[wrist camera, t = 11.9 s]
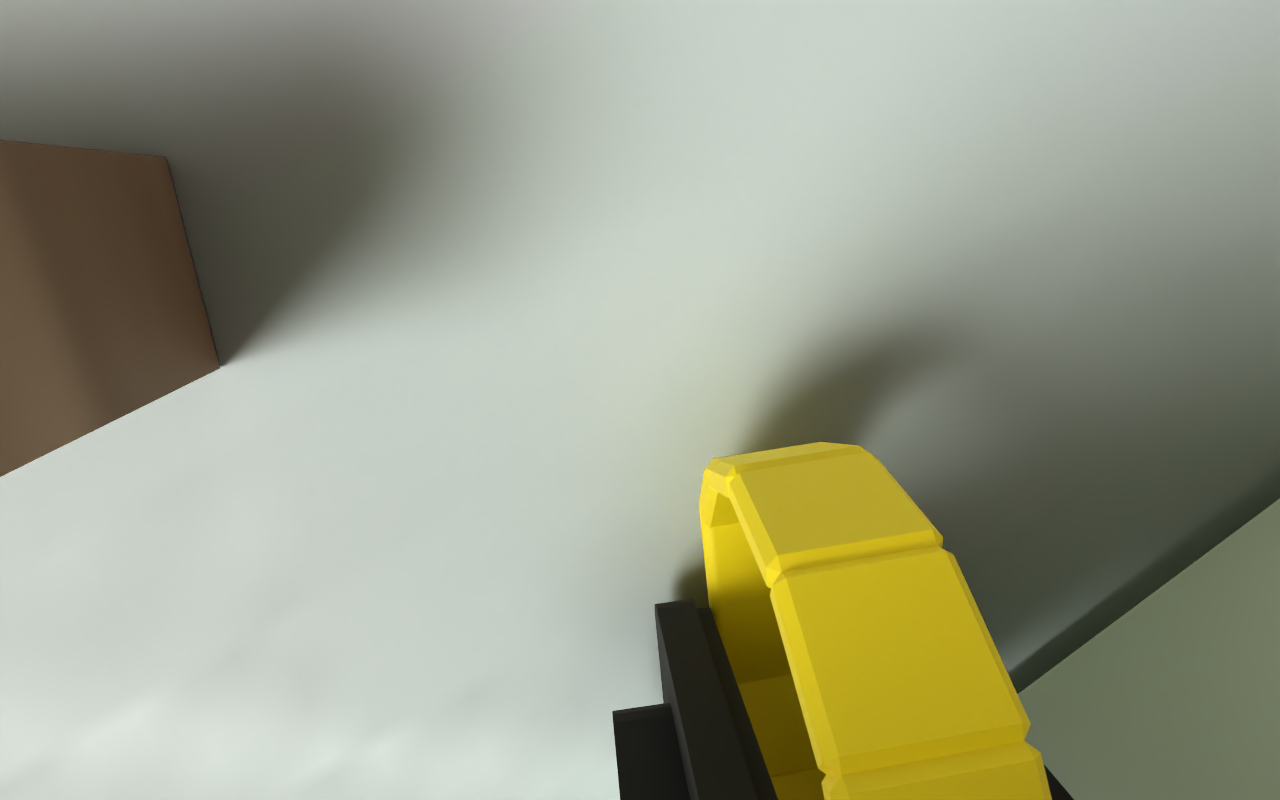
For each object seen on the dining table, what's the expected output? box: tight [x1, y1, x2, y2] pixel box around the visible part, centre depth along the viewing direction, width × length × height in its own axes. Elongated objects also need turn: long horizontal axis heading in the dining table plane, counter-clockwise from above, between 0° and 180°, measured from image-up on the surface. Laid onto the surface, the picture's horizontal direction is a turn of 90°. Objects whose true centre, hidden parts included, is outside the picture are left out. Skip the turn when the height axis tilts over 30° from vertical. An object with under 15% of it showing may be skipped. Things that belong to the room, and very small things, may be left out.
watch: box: [698, 442, 1052, 800], centre depth 7 cm, size 6×3×6 cm, turn 7°
